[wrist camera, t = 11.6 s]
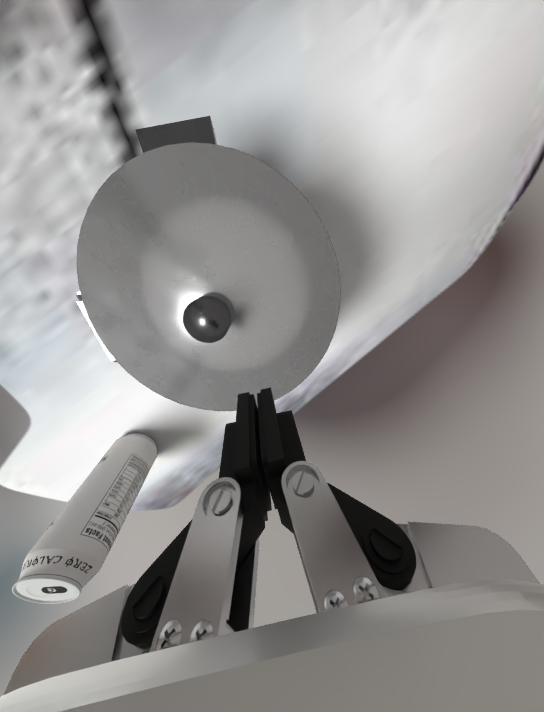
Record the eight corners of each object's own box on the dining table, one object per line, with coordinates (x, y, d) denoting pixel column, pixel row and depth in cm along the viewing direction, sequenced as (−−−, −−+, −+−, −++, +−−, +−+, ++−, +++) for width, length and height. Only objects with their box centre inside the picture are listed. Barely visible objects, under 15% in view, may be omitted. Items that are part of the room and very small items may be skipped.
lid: (25, 192, 12) (-78, 162, 8) (327, 127, 11) (357, 64, 8) (148, 414, 19) (121, 449, 16) (337, 383, 18) (354, 413, 15)
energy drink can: (113, 429, 29) (-11, 577, 15) (158, 431, 30) (78, 573, 16) (120, 458, 31) (18, 608, 18) (161, 459, 32) (94, 604, 18)
